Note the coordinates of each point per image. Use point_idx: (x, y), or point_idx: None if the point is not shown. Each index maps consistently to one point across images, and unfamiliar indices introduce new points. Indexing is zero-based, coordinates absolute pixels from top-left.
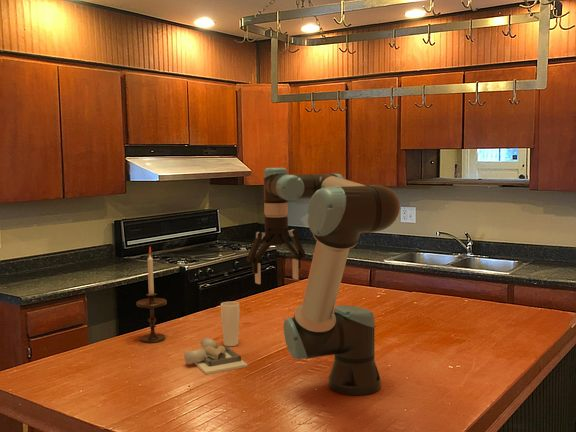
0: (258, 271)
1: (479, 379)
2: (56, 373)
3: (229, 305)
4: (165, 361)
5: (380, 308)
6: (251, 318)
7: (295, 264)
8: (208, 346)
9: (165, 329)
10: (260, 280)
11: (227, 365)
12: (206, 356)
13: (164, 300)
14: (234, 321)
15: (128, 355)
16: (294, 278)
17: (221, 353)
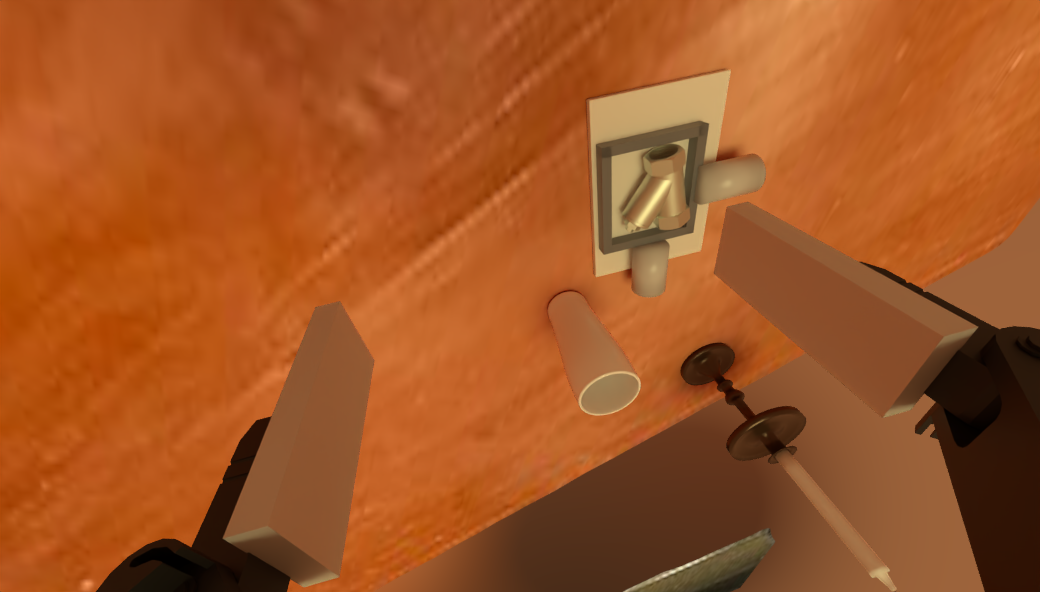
0: (861, 263)
1: None
2: (961, 205)
3: (597, 403)
4: None
5: (63, 516)
6: (465, 458)
7: (308, 458)
8: (681, 221)
9: (657, 412)
10: (752, 219)
11: (649, 113)
12: None
13: (734, 445)
14: (586, 334)
15: None
16: (358, 336)
17: (654, 178)
